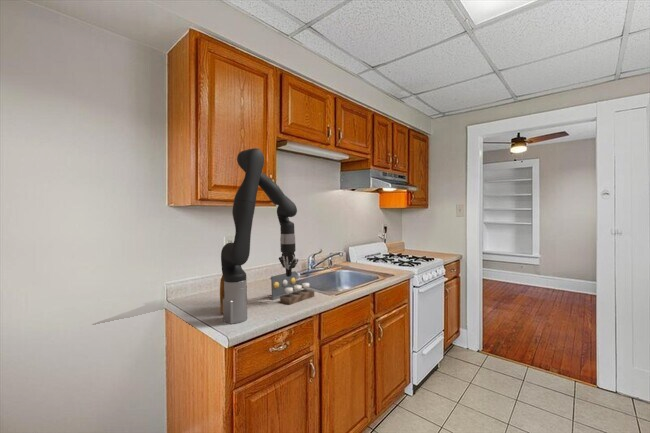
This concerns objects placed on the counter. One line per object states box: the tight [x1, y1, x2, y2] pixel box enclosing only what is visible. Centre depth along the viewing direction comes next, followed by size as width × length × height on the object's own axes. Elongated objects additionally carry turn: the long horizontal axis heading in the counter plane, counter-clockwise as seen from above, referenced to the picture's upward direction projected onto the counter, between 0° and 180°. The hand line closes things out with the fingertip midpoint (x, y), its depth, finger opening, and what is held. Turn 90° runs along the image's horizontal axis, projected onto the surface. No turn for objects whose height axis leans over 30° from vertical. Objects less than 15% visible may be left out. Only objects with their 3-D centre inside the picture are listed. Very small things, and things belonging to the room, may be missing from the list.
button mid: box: [294, 284, 302, 291], centre depth 161 cm, size 4×4×2 cm
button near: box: [285, 287, 293, 293], centre depth 156 cm, size 4×4×2 cm
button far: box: [301, 282, 310, 289], centre depth 165 cm, size 4×4×2 cm
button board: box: [279, 288, 315, 306], centre depth 161 cm, size 18×7×3 cm, turn 139°
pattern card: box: [269, 270, 297, 301], centre depth 168 cm, size 18×3×12 cm, turn 139°
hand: (288, 276), depth 156 cm, fingers closed
